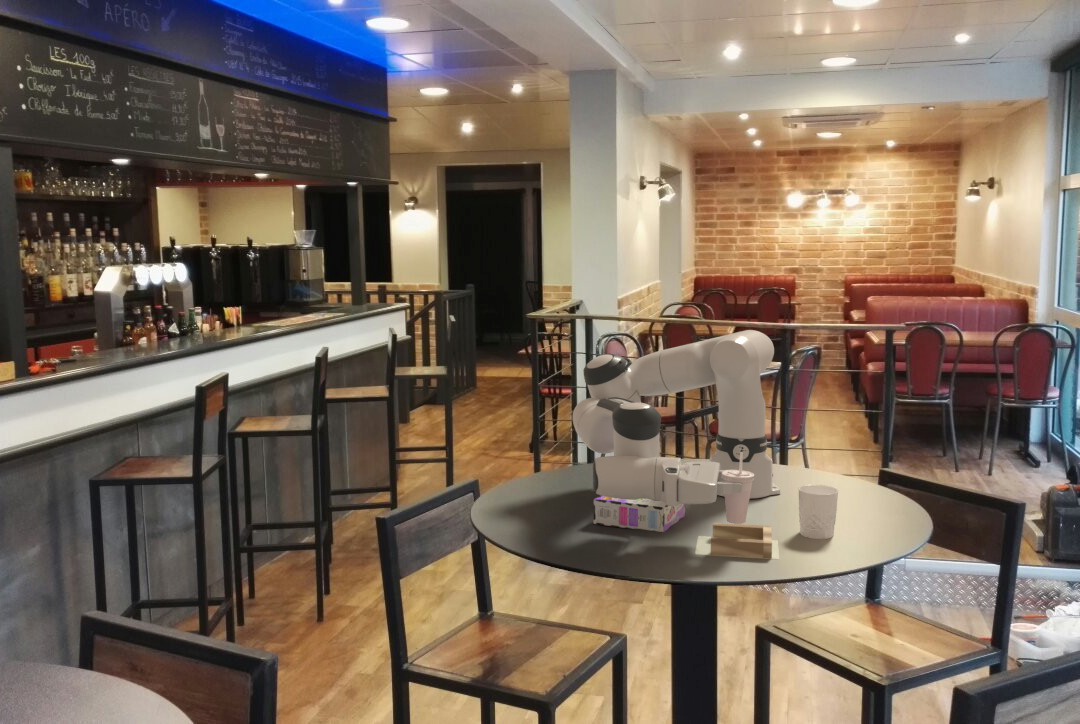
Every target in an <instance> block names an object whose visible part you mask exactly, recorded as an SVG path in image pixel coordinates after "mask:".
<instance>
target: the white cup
mask: <svg viewBox="0 0 1080 724" xmlns="http://www.w3.org/2000/svg"><path fill="white" fill-rule="evenodd" d="M838 497H839V489H837V488H835V487H833V486H829V485H824V484H823V485H822V484H805V485H801V486H799V487H798V520H799V533H800V535H801V536H803V537H805V538H808V539H815V540H826V539H831V538H833V537H834V535H835V526H836V522H837V521H836V520H837V511H838V509H837V508H838V500H839V499H838Z"/></svg>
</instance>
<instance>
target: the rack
mask: <svg viewBox="0 0 1080 724" xmlns="http://www.w3.org/2000/svg"><path fill="white" fill-rule="evenodd" d="M772 534H773V533H772V525H764V524H763V525H761V524H759V525H758V524H745V523H742V524H734V523H722V522H721V523H720V522H713V523H712V536H710V537H711V555H710V556H713V555H722V556H721V557H729V556H739V557H738V558H746V557H755V558H754V559H762V558H772V540H773V538H772V536H773V535H772Z"/></svg>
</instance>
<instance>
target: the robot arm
mask: <svg viewBox="0 0 1080 724" xmlns="http://www.w3.org/2000/svg"><path fill="white" fill-rule="evenodd" d="M774 355H775V347H774V343H773V341H772V340H771V338H770V337H769V336H768V335H767V334H765V333H763V332H761V331H758V330H755V329H754V330H753V329H745V330H743V331H742V330H741V331H737V332H734V333H728V334H725V335H721V336H717V337H712V338H709V339H704V340H700V341H696V342H692V343H687V344H683V345H679V346H675V347H671V348H665V349H663V350H658V351H654V352H651V353H649V354H645V355H643V356H641V357H639V358H636V359H634V360H633V361H632V360H630V358H628V357H623V356H621V355H617V354H615V353H603V354H601V355H597V356H596V357H595V358H594V357H593V358H592V359H591V360H589V361H588V362H587V363H586V364H585V365H584V367H583V378H584V383H585V384H586V385H587V388H588V391H589V394H590V397H588V398H585V399H583V400H581V401H579V403H577V404H576V406H575V407H574V409H573V412H572V423H573V427H574V430H575V432H576V434H577V436H578V437H579V438H580V440H581V441H582V442H583V443H584V444H585V446H586V447H587V448H588V449H590V450H591V451H592V452H595V453H598V454H604V455H605V454H611V453H613V455H610V456H609V455H607V456H598V457H595V458H594V460H593V463H592V486H593V487H592V488H593V490H594V491H593V492H595V494H596V495H599V496H601V495H602V496H606V497H611V498H618V499H629V500H636V499H641V498H646V499H650V500H653V501H663V502H664V503H665V504H666V505H668V506H677V504H678V502H679V503H681V504H685V505H706V504H707V505H708V504H712V503H713V504H714V503H716V502H717V497H718V496H721V497H723V498H725V496H724V494H728V493H741V491H742V483H740V482H733V483H723V479H722V478H721V476H722V472H723V471H726V470H739V466H740V452H743V462H742V470H744V471H749V472H751V473H753V474H754V480H753V481H752V487H751V492H750V498H749V499H759V498H766V497H768V496H772V495H773V496H775V495H779V494H781V489H780V487H779V486H778V485H777V484H776V483H775V482H774V480H773V476H774V473H773V459H772V458H771V457H770V456H769V454H767V449H768V447H767V446H768V439H767V438H768V436H767V435H766V410H767V409H766V408H767V407H766V401H765V398H764V394H763V389H762V382H761V373H762V372H764V371H766V369H767V368H769V366H770V364H771V363H772V362H773V358H774ZM712 385H715V387H716V394H717V399H718V401H717V402H718V433H716V438H715V442H716V443H715V445H716V446H715V447H716V451H715V453H713V454H712V455H711V456H710V458H709V461H687V462H684V463H682V459H681V457H670V456H668V457H667V456H665V457H664V456H661V455H660V453H661V451H660V450H661V449H660V446H661V445H660V444H661V443H660V436H661V435H660V434H661V433H660V432H661V423H662V422H661V421H662V415H661V413H660V412H659V411H658V410H657V409H656V408H655V407H654V406H653V405H651V404H649V403H644V402H642V400H641V397H642V396H643V397H655V396H656V397H657V396H664V395H670V394H676V393H680V392H681V393H682V392H685V391H689V390H691V391H692V390H695V389H701V388H705V387H708V386H712ZM640 396H641V397H640Z"/></svg>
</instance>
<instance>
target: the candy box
mask: <svg viewBox="0 0 1080 724" xmlns="http://www.w3.org/2000/svg"><path fill="white" fill-rule="evenodd" d="M685 513H686V504H681V503H679V502H678V504H677V506H668V505H666V504H665V503H664V502H663V501H653V500H650V499H646V498H641V499H636V500H629V499H618V498H611V497H606V496H602V495H599V496H598V497H595V498H594V499H593V519H592V520H593V524H594V525H598V524H600V526H606V527H607V526H609V527H613V528H614V527H615V528H623V529H630V530H635V529H636V530H638V529H639V530H644V531H645V530H646V531H652V532H660V533H665V532H666V531H667V530H669V529H670V528H671V527H672V526H674V525H676V524H677V523H678V522H679V521H680V520H682V519H683V518H684V517H686V514H685Z"/></svg>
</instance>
